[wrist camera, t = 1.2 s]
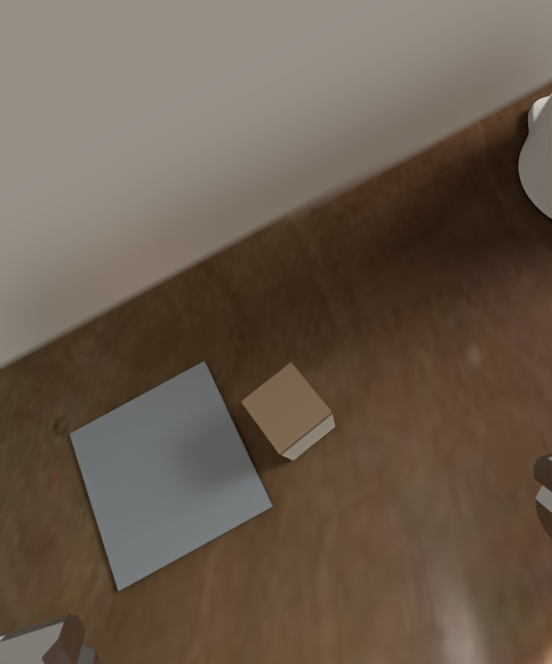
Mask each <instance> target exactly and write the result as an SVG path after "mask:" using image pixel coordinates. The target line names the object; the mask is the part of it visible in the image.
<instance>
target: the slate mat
mask: <svg viewBox="0 0 552 664" xmlns="http://www.w3.org/2000/svg"><path fill="white" fill-rule="evenodd" d="M70 437H71V440H72V444H73V447H74V450H75V453H76V456H77V460H78V463H79V466H80V469H81V473H82V476H83V479H84V482H85V485H86V489H87V492H88V495H89V498H90V502H91V505H92V508H93V511H94V514H95V518H96V521H97V524H98V527H99V531H100V534H101V537H102V540H103V543H104V547H105V550H106V553H107V556H108V560H109V563H110V566H111V569H112V573H113V576H114V579H115V582H116V585H117V589H118V591H120V590H122V589H124V588H126V587H127V586H129V585H131V584H133V583H135V582H137V581H138V580H140V579H142V578H144V577H146V576H147V575H149V574H151V573H153V572H155V571H157V570H158V569H160V568H162V567H164V566H166V565H167V564H169V563H171V562H173V561H175V560H176V559H178V558H180V557H182V556H184V555H186V554H187V553H189V552H191V551H193V550H195V549H196V548H198V547H200V546H202V545H204V544H206V543H207V542H209V541H211V540H213V539H215V538H216V537H218V536H220V535H222V534H224V533H226V532H227V531H229V530H231V529H233V528H235V527H236V526H238V525H240V524H242V523H244V522H245V521H247V520H249V519H251V518H253V517H255V516H256V515H258V514H260V513H262V512H264V511H265V510H267V509H269V508H271V507H273V506H272V504H271V502H270V500H269V497H268V495H267V493H266V491H265V489H264V487H263V485H262V482H261V480H260V478H259V476H258V474H257V472H256V470H255V467H254V465H253V463H252V461H251V459H250V457H249V455H248V452H247V450H246V448H245V446H244V444H243V442H242V440H241V437H240V435H239V433H238V431H237V429H236V427H235V425H234V422H233V420H232V418H231V416H230V414H229V412H228V409H227V407H226V405H225V403H224V401H223V399H222V397H221V394H220V392H219V390H218V388H217V386H216V384H215V382H214V379H213V377H212V375H211V373H210V371H209V369H208V367H207V364H206V362H205V361H203V362H202V363H200V364H198V365H196V366H194V367H192V368H190V369H189V370H187V371H185V372H183V373H181V374H179V375H177V376H176V377H174V378H172V379H170V380H168V381H166V382H165V383H163V384H161V385H159V386H157V387H155V388H153V389H152V390H150V391H148V392H146V393H144V394H142V395H140V396H139V397H137V398H135V399H133V400H131V401H129V402H128V403H126V404H124V405H122V406H120V407H118V408H116V409H115V410H113V411H111V412H109V413H107V414H105V415H103V416H102V417H100V418H98V419H96V420H94V421H92V422H91V423H89V424H87V425H85V426H83V427H81V428H79V429H78V430H76V431H74V432H72V433H70Z"/></svg>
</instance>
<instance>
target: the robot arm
mask: <svg viewBox="0 0 552 664" xmlns="http://www.w3.org/2000/svg"><path fill="white" fill-rule="evenodd" d="M528 126H529V134H528V137H527V139H526V141H525V143H524V146H523V148H522V150H521V153H520V157H519V176H520V180H521V183H522V186H523V188H524V190H525V192H526V194H527V195H528V197H529V198H530V199H531V201H532V202H533V203H534V204H535V205H536V206H537V207H538V208H539V209H540V210H541V211H542V212H543V213H544V214H546V215H547V216H548V217H550V218H551V219H552V93H551V95H550V96H548V97H545V98H542V99H539V100H537V101H536V102H535V103H534V104H533V106H532V107H531V109H530V111H529V113H528ZM534 478H535V479H536V480H537V481H538V482H539V483H540V484H541V485H542V487H541V489H540V491H539V493H538V495H537V497H536V498H535V500H536V509H537V515H538V517H539V519H540V522H541V524H542V526H543V528H544V530H545V531H546V533H547V534H548V535H549V537H550V538H551V539H552V453H551V454H548V455H545V456H542V457H539V458H537V459H536V461H535V464H534ZM85 631H86V630H85V628H84V626H83V625H82V623H81V621H80V619H79V617H78V615H67V616H63V617H60V618H57V619H54V620H50V621H47V622H44V623H41V624H37V625H34V626H31V627H28V628H24V629H21V630H18V631H15V632H11V633H8V634H6V635H5V636H1V637H0V664H101V661H100V659H99V657H98V655H97V653H96V651H95V650H93V649H91V648H89V647H87V646H85V645H83V644H82V643H83V639H84V635H85Z"/></svg>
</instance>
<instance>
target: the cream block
mask: <svg viewBox="0 0 552 664" xmlns="http://www.w3.org/2000/svg"><path fill="white" fill-rule="evenodd" d="M241 402H242V404H243V405H244V407H245V408H246V409H247V411H248V412H249V413H250V415H251V416H252V418H253V419H254V420H255V422H256V423H257V424H258V426H259V427H260V429H261V430H262V431H263V433H264V434H265V435H266V437H267V438H268V439H269V441H270V442H271V444H272V445H273V446H274V448H275V449H276V450H277V452H278V453H279V454H280V455H282V456H284V457H287V458H289V459H291V460H295V459H296V458H297V457H298V456H300V455H301V454H302V453H303V452H305V451H306V450H307V449H308V448H310V447H311V446H312V445H313V444H314V443H316V442H317V441H318V440H319V439H321V438H322V437H323V436H324V435H326V434H327V433H328V432H329V431H331V430H332V429H333V428H334V427H335V424H334V419H333V415H332V411H331V410H330V409H329V408H328V407H327V405H326V404H325V403H324V402H323V400H322V399H321V398H320V397H319V396H318V394H317V393H316V392H315V391H314V389H313V388H312V387H311V386H310V385H309V383H308V382H307V381H306V380H305V378H304V377H303V376H302V375H301V374H300V372H299V371H298V370H297V369H296V367H295V366H294V365H293V364H292V362H291V363H289V364H288V365H287V366H286V367H284V368H283V369H282V370H281V371H279V372H278V373H277V374H275V375H274V376H273V377H272V378H270V379H269V380H268V381H267V382H265V383H264V384H263V385H261V386H260V387H259V388H258V389H256V390H255V391H254V392H253V393H251V394H250V395H249V396H247V397H246V398H245V399H244V400H242V401H241Z"/></svg>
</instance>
